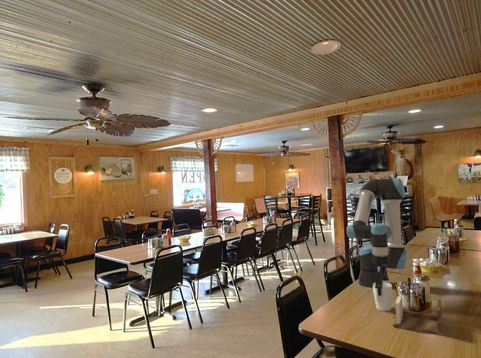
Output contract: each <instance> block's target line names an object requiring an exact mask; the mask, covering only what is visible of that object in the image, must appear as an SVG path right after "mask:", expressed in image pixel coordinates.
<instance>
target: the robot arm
mask: <svg viewBox="0 0 481 358" xmlns="http://www.w3.org/2000/svg"><path fill="white" fill-rule="evenodd" d="M405 197H406V191H405V186H404V183H403V180H402V179H401V178H398V177H396V178H395V177H390V178H389V177H388V178H375V179H370V180H369V181H367V182H366V183H365V184H363V186H362V187H360V190H359V192H358V198H359V200H358V203H357V207H356V211H355V215H354V219H353V222H352V224H348V225H347V227H346V235H347V238H349V239H354V240H371V245H370V244H369V245H364V246H361V247H360V248H359V262H360V263H359V265H360V272H359V276H358V281H357V282H358V284H359V285H360V286H364V287H369V288H373V283H375V282H376V286H375V288H377V302H384V301H383V288H382V284H383V282H386V283H388V282H389V280H390V279H389V276H388V269H391V270H394V269H395V270H405V269H406V267H407V264H408V258H409V257H408V256H409V254H408V250H407V249H405V248H406V247H405V245H404V244H403V243H402V225H401V224H402V223H401V206H400V205H401V203H402V202H403V198H405ZM376 198H379V199H381V200H380V201H381V202H383V205H384V207H383V208H384V209H383V210H384V223H382V222H380V223H372V224H369V218H370V215H371V209H372V204H373V202H374V201H375V199H376ZM378 285H380V286H378Z"/></svg>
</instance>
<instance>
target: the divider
mask: <svg viewBox="0 0 481 358" xmlns="http://www.w3.org/2000/svg"><path fill="white" fill-rule="evenodd" d="M394 305H395V318H396V323H397V324H400V323H401V320H402V317H403V310H404V308H403V307H404V306H403V295H398V296H397V298H396V300H395V303H394Z"/></svg>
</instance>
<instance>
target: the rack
mask: <svg viewBox="0 0 481 358" xmlns="http://www.w3.org/2000/svg"><path fill="white" fill-rule="evenodd" d="M442 318H443V316H442V300H441V299H437V304H436V314H433V313H424V312H417V311H411V310H404V309H403V317H402V320H401V323H400V324H397V323H396V317H395V318H394V321H393V324H392V325H393V328H396V329H403V330H408V331H414V332H419V333H423V334H425V333H426V334H430V335H431V334H432V335H436V336H442V335H443V334H442V332H443V319H442Z"/></svg>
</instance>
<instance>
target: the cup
mask: <svg viewBox="0 0 481 358" xmlns="http://www.w3.org/2000/svg"><path fill="white" fill-rule="evenodd" d="M375 286H376V282H375V283H373V287H372V291H373V297H374V301H375V303H374V304H375V307H376V309H377V310H378V311H381V312H390V311H391V310H392V303H393V284H391V283H390V282H387V283H386V282H383V284H382V288H383V301H384V302H377V288H375ZM378 286H380V285H378Z"/></svg>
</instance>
